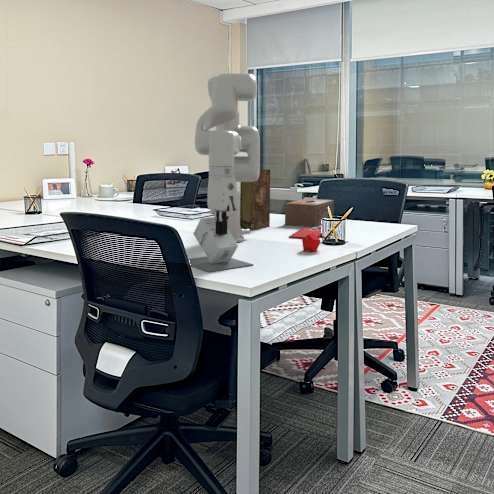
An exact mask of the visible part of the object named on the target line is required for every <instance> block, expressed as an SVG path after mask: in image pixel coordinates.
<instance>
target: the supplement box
mask: <svg viewBox="0 0 494 494" xmlns="http://www.w3.org/2000/svg"><path fill="white" fill-rule="evenodd" d="M193 231H194V232H193V236H194V238H195V239H196V240H197V243H198V245H199V246H200V247H201V250H202V251H203V253H204V255H205V257H207V258H208V259H209V261H210V263H211V264H214V263H220V262H225V261H230V259H231V258H233V256H234V254H235V253H236V251H237V249H238V247H239V245H238V242H236V241H235V240H234V238H233V237H232V235H231V233H230V232H229V230H228V229H227V234H222V235H218V234H216V221H215V219H214V216H210V217H203V218H202V217H201V218H200V220H198V224H197V225H196V227H195V229H194V230H193Z"/></svg>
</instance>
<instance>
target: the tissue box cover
mask: <svg viewBox="0 0 494 494" xmlns="http://www.w3.org/2000/svg"><path fill="white" fill-rule="evenodd" d="M328 206H329V208H330V210H331V213H332V216H333V217H334V208H335V200H334V199H322V198H321V199H319V198H318V199H317V198H302V199H298V200H294V201H290V202H286V203H285V204H284V225H285V226H293V227H294V226H296V227H304V228H313V227H321V226H322V225H321V218H323V217H328V209H327V207H328Z"/></svg>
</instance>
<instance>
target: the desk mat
mask: <svg viewBox="0 0 494 494" xmlns="http://www.w3.org/2000/svg"><path fill="white" fill-rule="evenodd" d="M188 259H189V260H190V264H191V266H190V267H192V268H195V267H196V269H198V270H201V271H203V272H207V273H214V271H215V272H219V271H227V270H234V269H239V268H241V269H242V268H247V267H253V266H254V263H249V262H246V261H243V260H239V259H236V258H233V257H232V258H231V259H230V261H225V262H220V263H214V264H211V263H210V261H209V259H208V258H207V256H201V257H195V258H193V257H192V258H188Z"/></svg>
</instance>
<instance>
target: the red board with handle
mask: <svg viewBox="0 0 494 494" xmlns="http://www.w3.org/2000/svg"><path fill="white" fill-rule="evenodd" d="M321 227H322V226H317V227H302V228H300V229H299V230H297V231H295V232H294V233H292V234H291V235H289V236H288V239H296V240H298V239H299V240H302V238H303V237H305V236H307V235H309V234H311V233H313V234H314V235H315V236H316V237H317V238H318V239H319V240H320V238H323V237H322V233H321Z"/></svg>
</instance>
